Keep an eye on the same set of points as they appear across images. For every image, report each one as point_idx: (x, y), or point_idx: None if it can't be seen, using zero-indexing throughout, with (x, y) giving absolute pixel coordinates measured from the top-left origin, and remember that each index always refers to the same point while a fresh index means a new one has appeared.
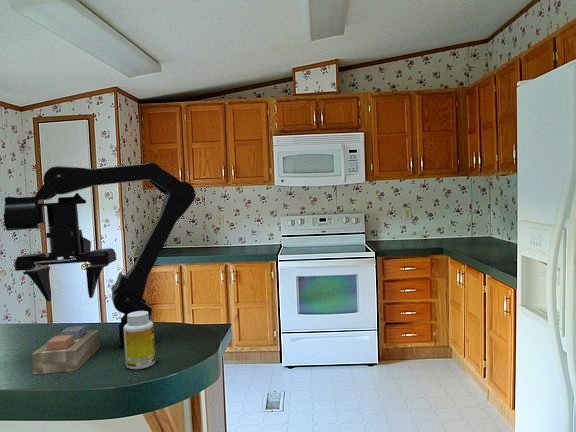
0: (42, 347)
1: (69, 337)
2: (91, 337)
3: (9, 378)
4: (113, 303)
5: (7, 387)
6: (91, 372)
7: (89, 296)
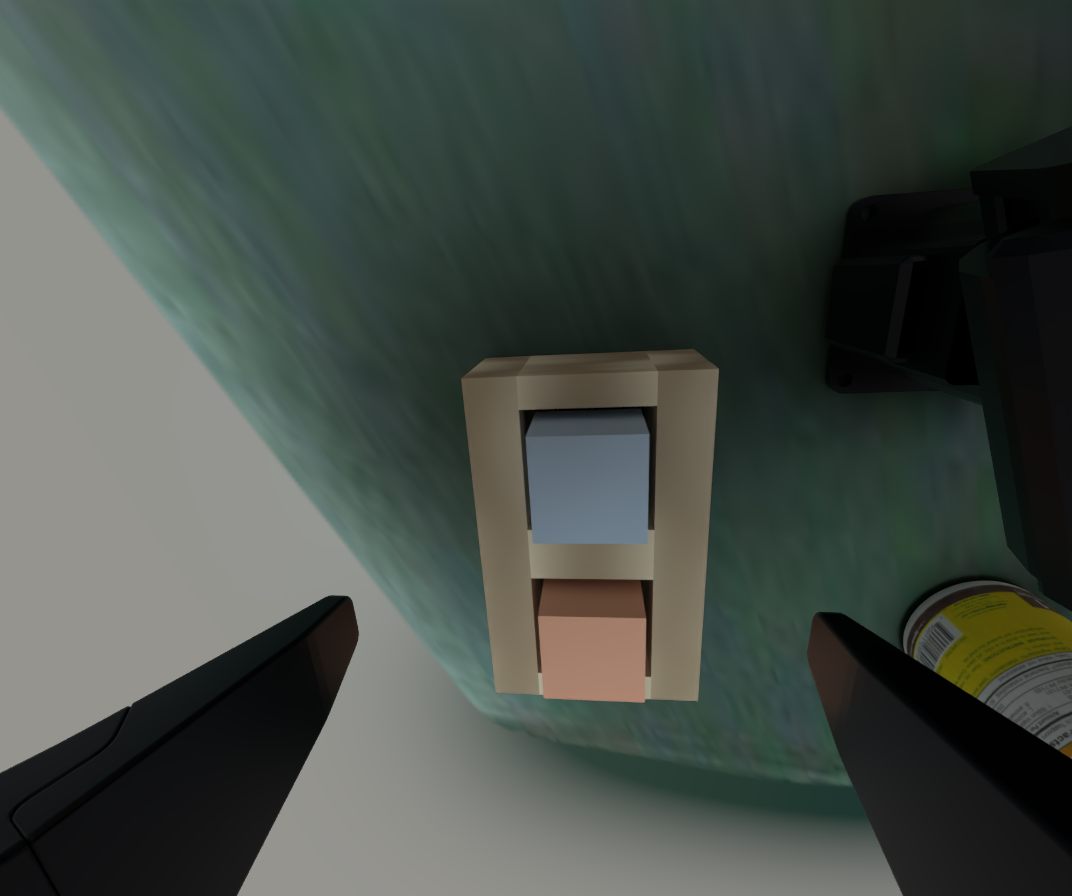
0: (499, 624)
1: (642, 658)
2: (708, 498)
3: (437, 639)
4: (1032, 573)
5: (482, 706)
6: (750, 654)
7: (818, 680)
